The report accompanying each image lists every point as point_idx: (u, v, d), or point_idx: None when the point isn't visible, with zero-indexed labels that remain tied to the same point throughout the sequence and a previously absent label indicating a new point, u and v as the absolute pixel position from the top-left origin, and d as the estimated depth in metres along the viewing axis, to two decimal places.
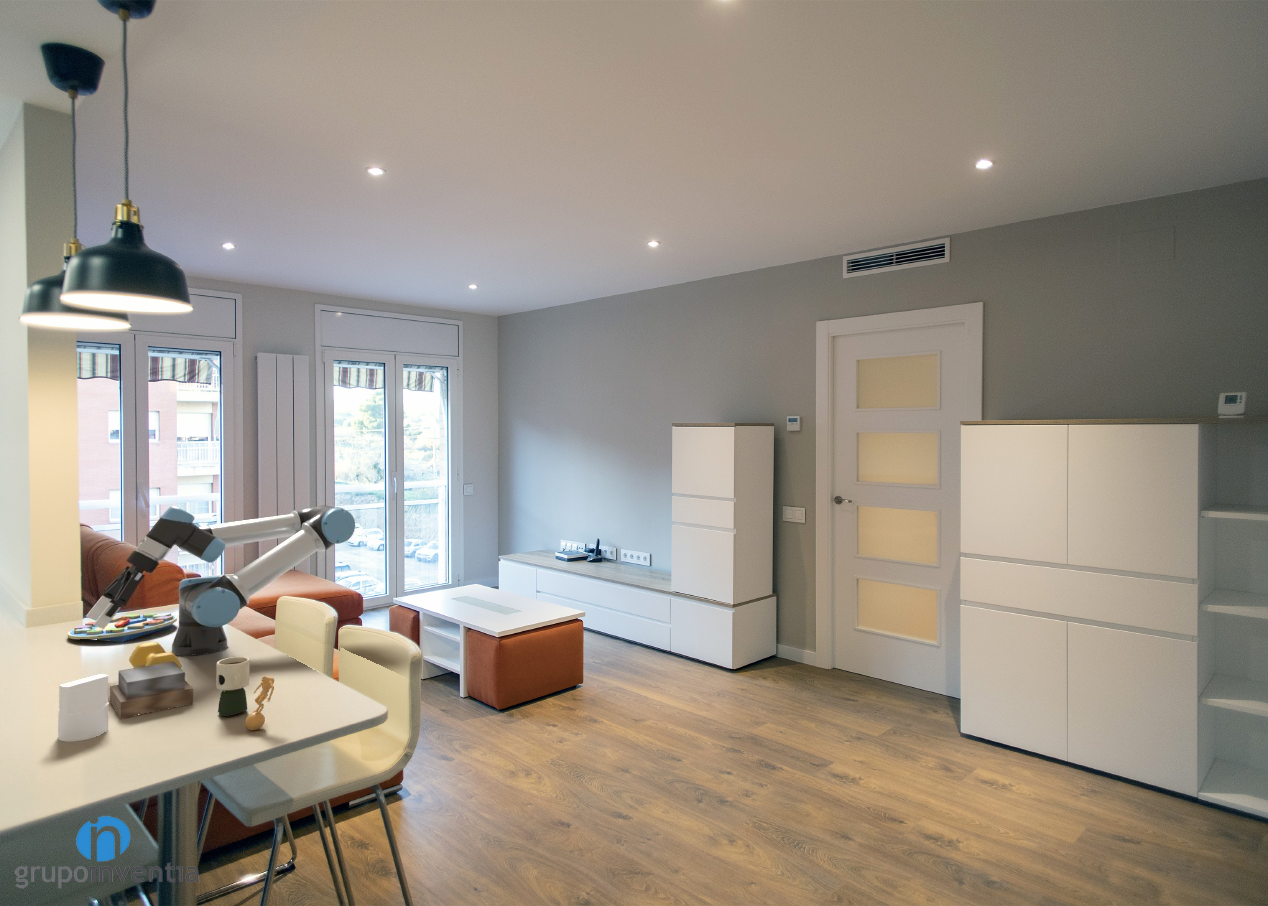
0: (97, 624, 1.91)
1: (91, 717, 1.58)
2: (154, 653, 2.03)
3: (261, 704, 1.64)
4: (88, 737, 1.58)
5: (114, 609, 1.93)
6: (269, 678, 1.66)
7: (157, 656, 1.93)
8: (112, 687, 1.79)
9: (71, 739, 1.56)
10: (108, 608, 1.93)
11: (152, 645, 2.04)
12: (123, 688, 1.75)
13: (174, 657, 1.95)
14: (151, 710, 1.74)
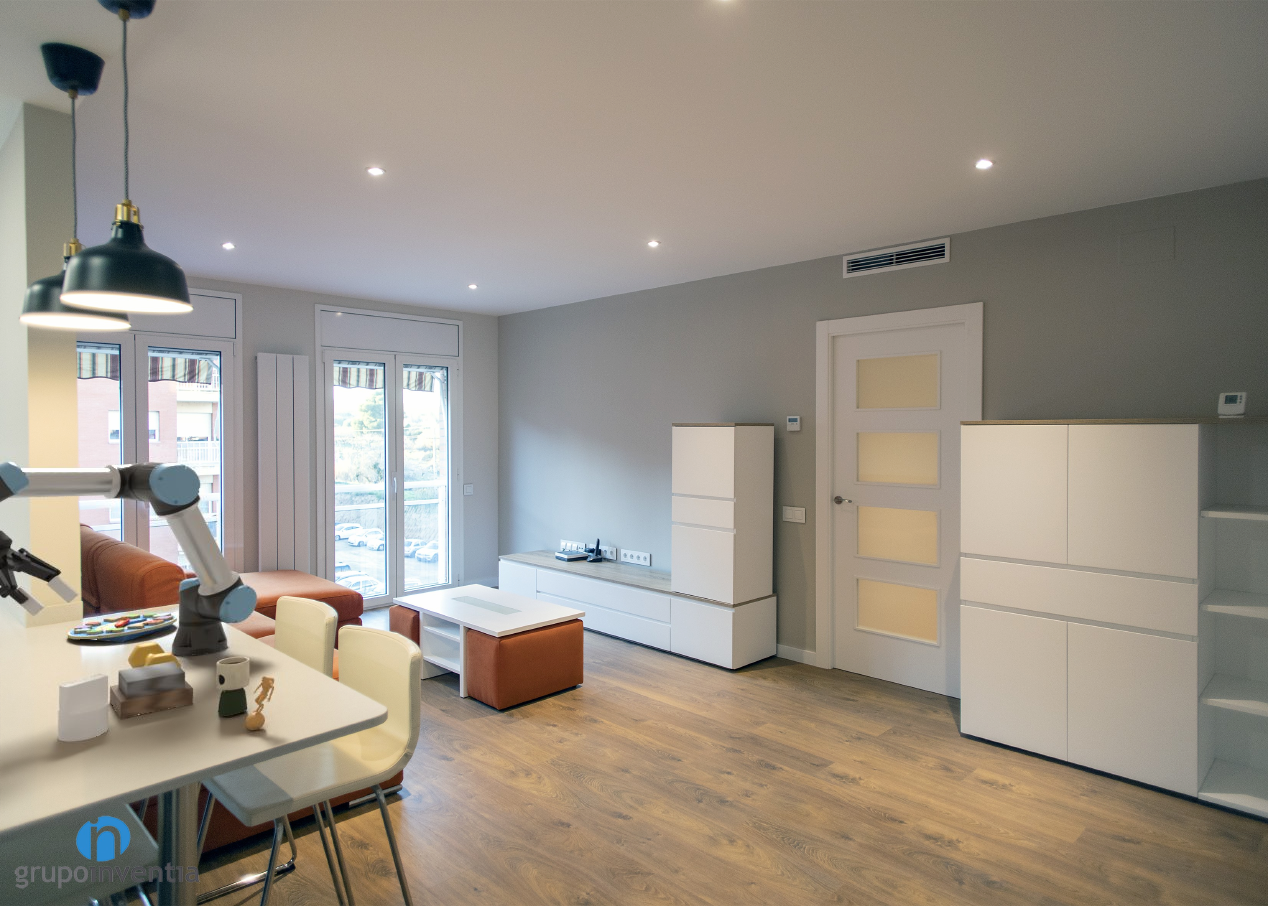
0: (34, 612, 1.58)
1: (91, 717, 1.58)
2: (153, 654, 2.03)
3: (261, 704, 1.64)
4: (88, 737, 1.58)
5: (15, 595, 1.56)
6: (269, 678, 1.66)
7: (156, 656, 1.93)
8: (112, 687, 1.79)
9: (71, 739, 1.56)
10: None
11: (151, 645, 2.04)
12: (123, 688, 1.75)
13: (173, 657, 1.95)
14: (151, 710, 1.74)
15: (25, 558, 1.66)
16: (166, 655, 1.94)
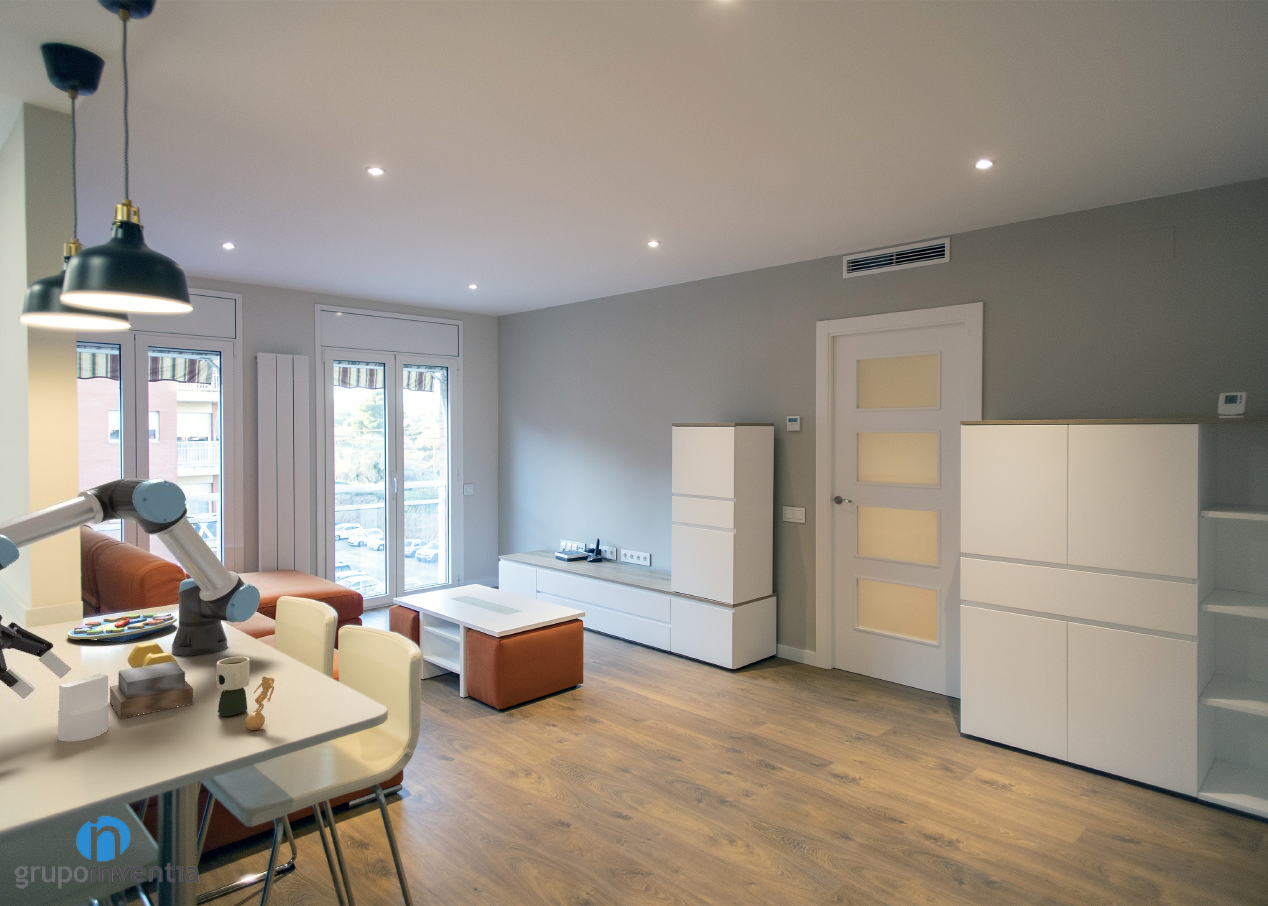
0: (24, 694, 1.51)
1: (91, 717, 1.58)
2: (152, 654, 2.02)
3: (261, 704, 1.64)
4: (88, 737, 1.58)
5: (4, 677, 1.50)
6: (269, 678, 1.66)
7: (154, 656, 1.92)
8: (112, 687, 1.79)
9: (71, 739, 1.56)
10: None
11: (150, 645, 2.04)
12: (123, 688, 1.75)
13: (171, 658, 1.95)
14: (151, 710, 1.74)
15: (15, 634, 1.60)
16: (164, 655, 1.94)
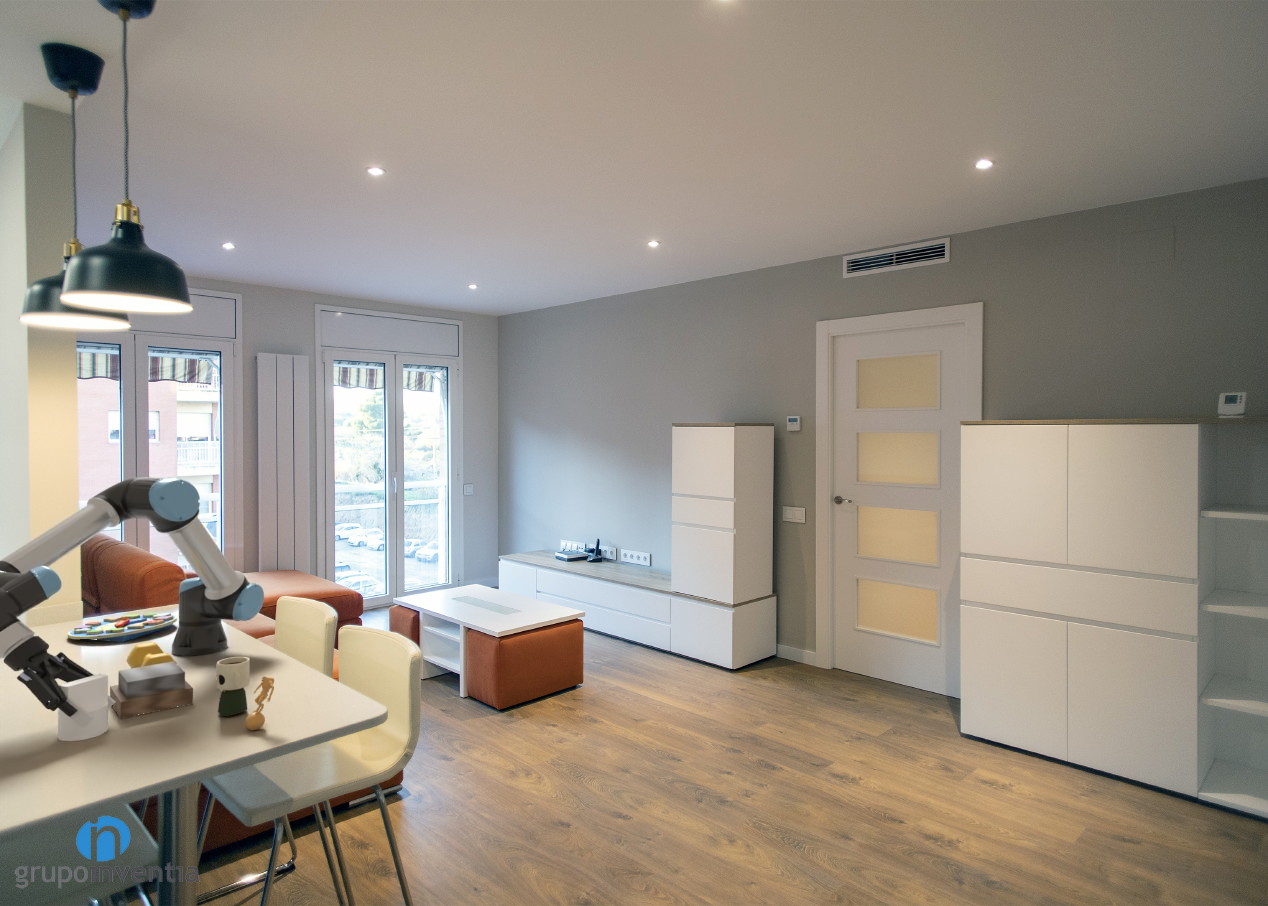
0: (83, 723, 1.56)
1: None
2: (151, 654, 2.02)
3: (261, 704, 1.64)
4: (88, 737, 1.58)
5: (64, 707, 1.54)
6: (269, 678, 1.66)
7: (153, 657, 1.92)
8: (112, 687, 1.79)
9: (71, 739, 1.56)
10: None
11: (149, 645, 2.03)
12: (123, 688, 1.75)
13: (170, 658, 1.95)
14: (151, 710, 1.74)
15: (62, 664, 1.62)
16: (163, 656, 1.94)
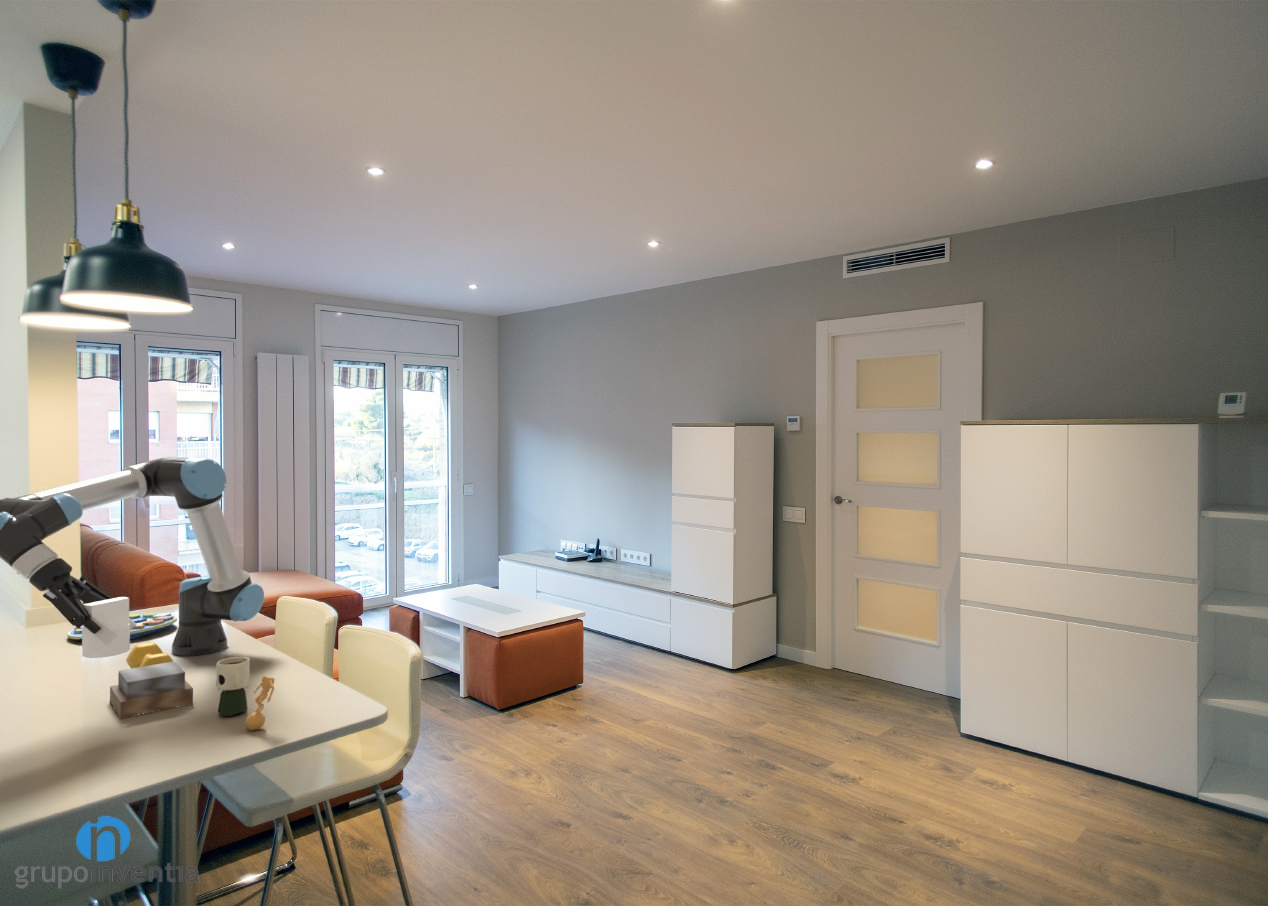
0: (106, 641, 1.62)
1: None
2: (151, 654, 2.02)
3: (261, 704, 1.64)
4: (111, 654, 1.64)
5: (89, 625, 1.60)
6: (269, 678, 1.66)
7: (151, 657, 1.92)
8: (112, 687, 1.79)
9: (95, 656, 1.62)
10: None
11: (149, 646, 2.03)
12: (123, 688, 1.75)
13: (169, 658, 1.94)
14: (151, 710, 1.74)
15: (85, 586, 1.67)
16: (162, 656, 1.93)
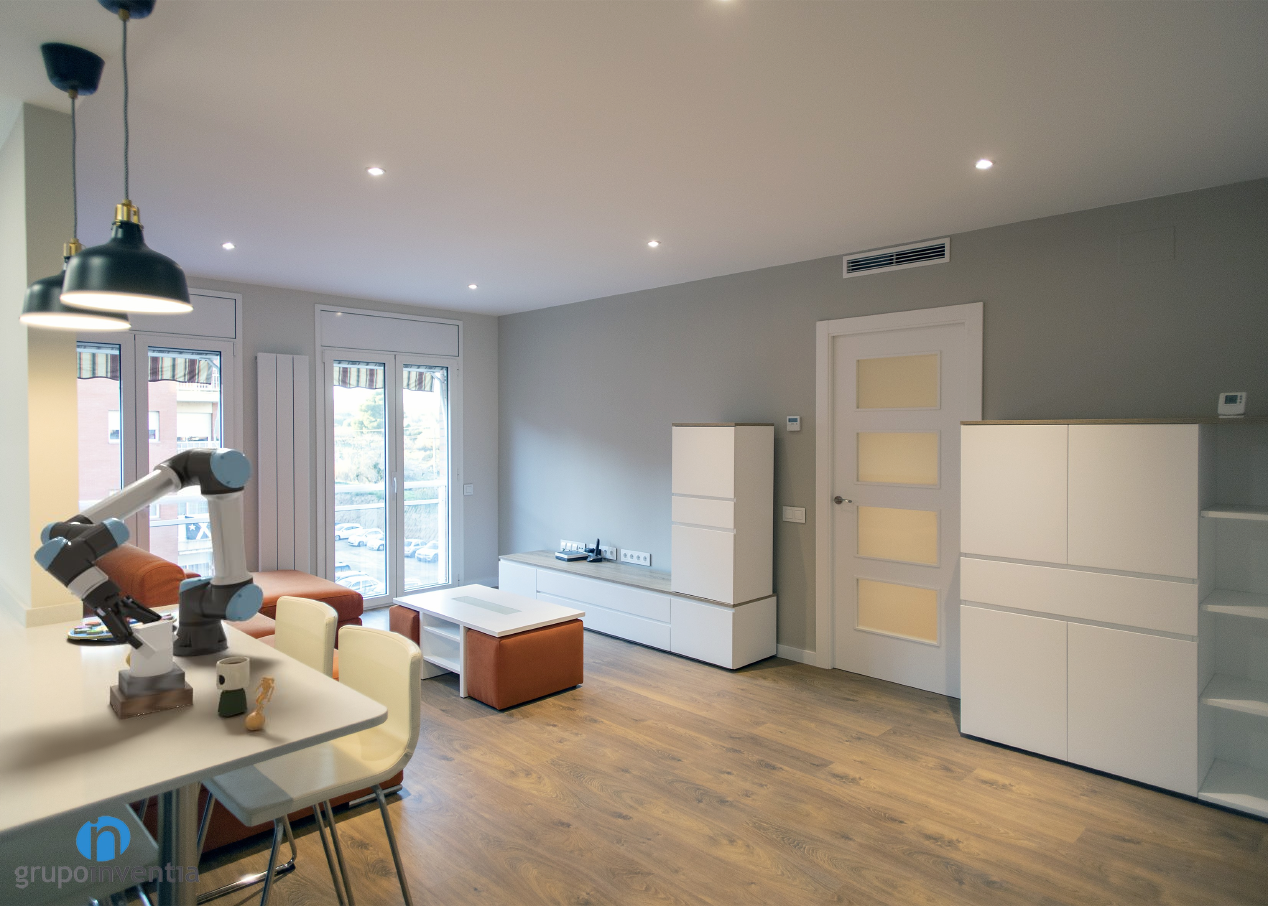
0: (147, 656, 1.74)
1: (159, 656, 1.77)
2: None
3: (261, 704, 1.64)
4: (157, 674, 1.77)
5: (132, 641, 1.72)
6: (269, 678, 1.66)
7: None
8: (112, 687, 1.79)
9: (142, 675, 1.75)
10: None
11: None
12: (123, 688, 1.75)
13: None
14: (151, 710, 1.74)
15: (132, 604, 1.81)
16: None
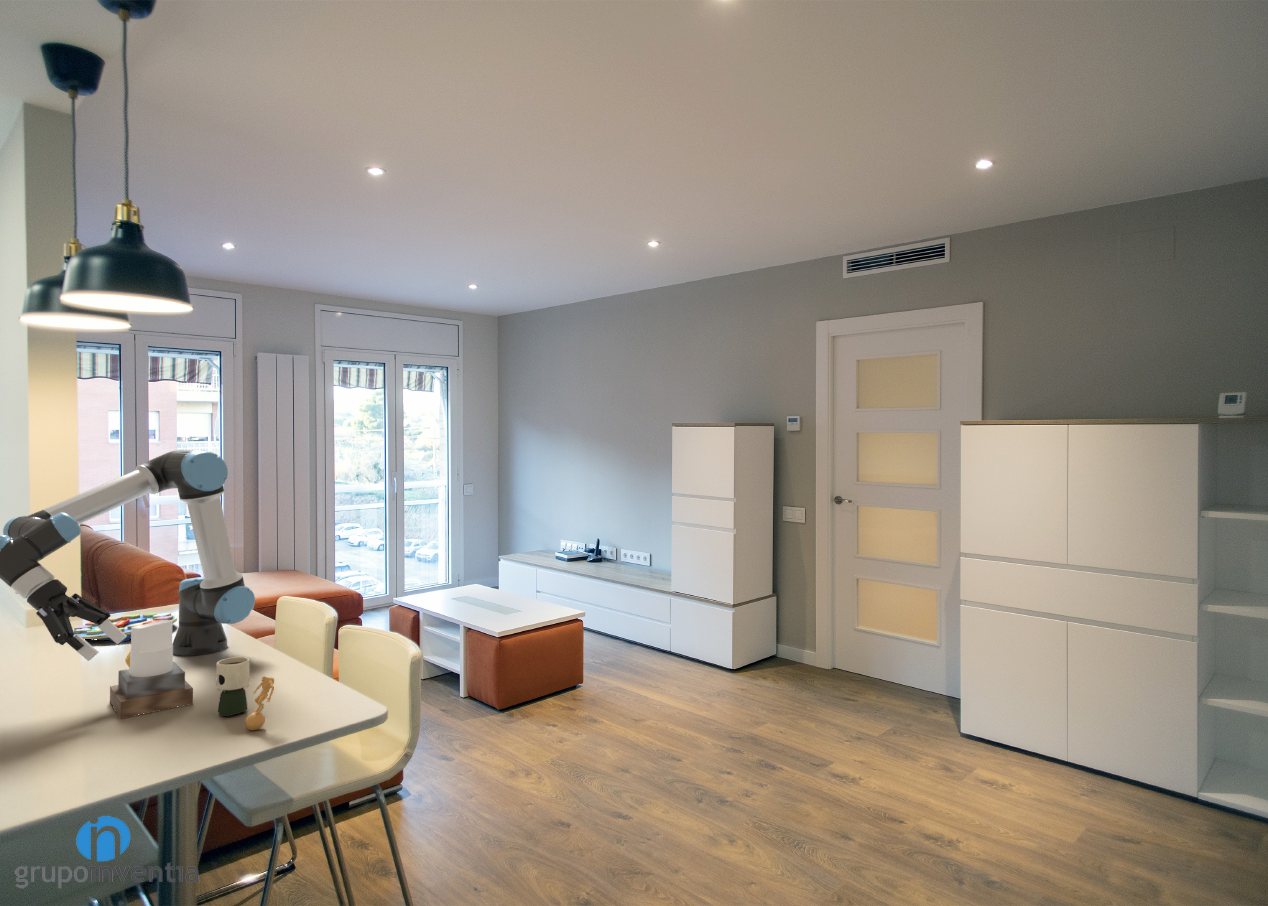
0: (88, 657, 1.71)
1: (159, 656, 1.77)
2: None
3: (261, 704, 1.64)
4: (157, 674, 1.77)
5: (72, 642, 1.69)
6: (269, 678, 1.66)
7: None
8: (112, 687, 1.79)
9: (142, 675, 1.75)
10: None
11: None
12: (123, 688, 1.75)
13: None
14: (151, 710, 1.74)
15: (79, 604, 1.79)
16: None
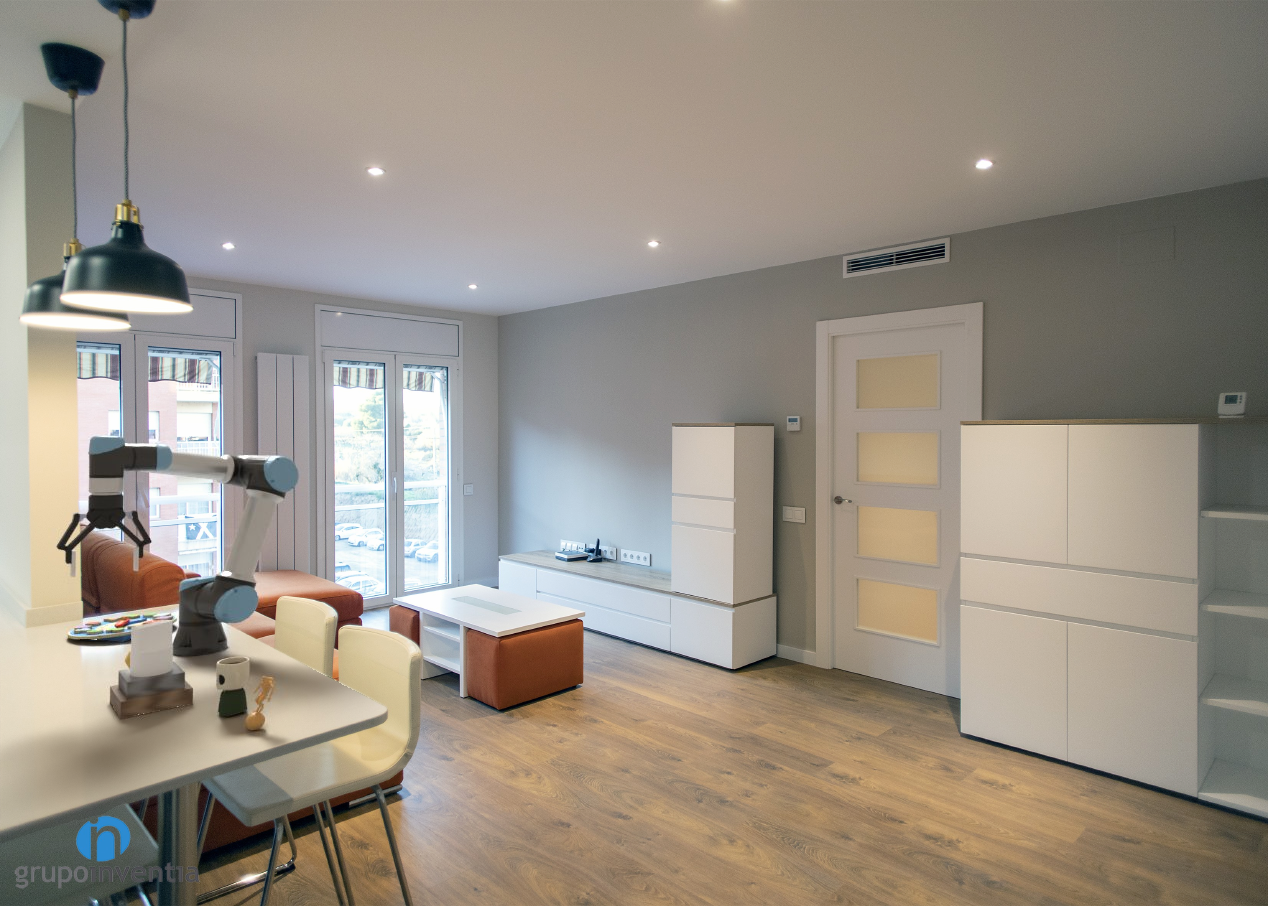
0: (70, 573, 1.85)
1: (159, 656, 1.77)
2: None
3: (261, 704, 1.64)
4: (157, 674, 1.77)
5: (66, 555, 1.84)
6: (269, 678, 1.66)
7: None
8: (112, 687, 1.79)
9: (142, 675, 1.75)
10: None
11: None
12: (123, 688, 1.75)
13: None
14: (151, 710, 1.74)
15: (119, 524, 1.90)
16: None
